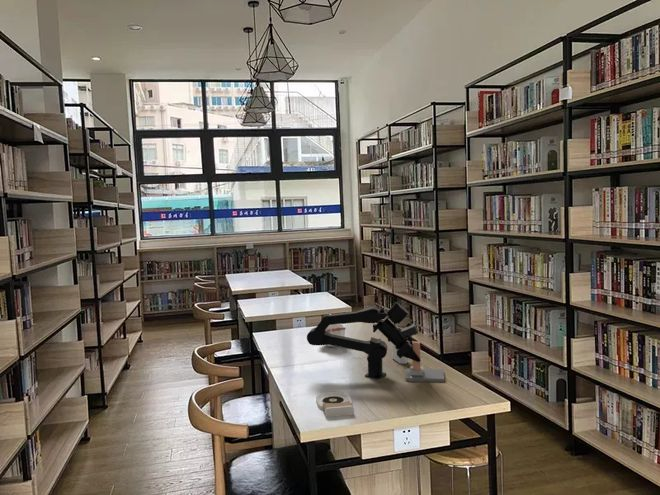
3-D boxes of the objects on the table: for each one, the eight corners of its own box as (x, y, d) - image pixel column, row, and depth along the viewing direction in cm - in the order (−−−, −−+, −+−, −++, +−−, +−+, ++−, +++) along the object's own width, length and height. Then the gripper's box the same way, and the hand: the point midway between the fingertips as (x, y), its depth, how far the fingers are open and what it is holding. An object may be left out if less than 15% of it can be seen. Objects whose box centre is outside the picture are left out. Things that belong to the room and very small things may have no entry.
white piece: (341, 346, 271) (335, 320, 274) (353, 341, 248) (346, 312, 251) (314, 352, 268) (308, 325, 271) (323, 348, 244) (317, 318, 247)
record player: (321, 409, 171) (313, 389, 190) (321, 418, 171) (314, 397, 190) (357, 405, 172) (345, 386, 192) (357, 415, 173) (346, 395, 192)
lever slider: (410, 375, 206) (409, 344, 205) (410, 369, 212) (409, 340, 212) (423, 375, 205) (422, 344, 204) (422, 370, 212) (422, 340, 211)
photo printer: (409, 363, 226) (408, 334, 226) (400, 364, 225) (399, 335, 224) (399, 357, 236) (398, 329, 235) (390, 358, 235) (389, 330, 234)
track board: (405, 381, 204) (405, 377, 203) (406, 371, 215) (406, 368, 215) (444, 381, 201) (444, 378, 201) (442, 372, 213) (442, 369, 213)
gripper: (405, 322, 198) (435, 352, 198) (405, 312, 217) (433, 340, 216) (384, 343, 200) (414, 372, 199) (386, 331, 219) (414, 358, 218)
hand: (420, 360), depth 208 cm, fingers closed on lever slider, 3 cm apart
